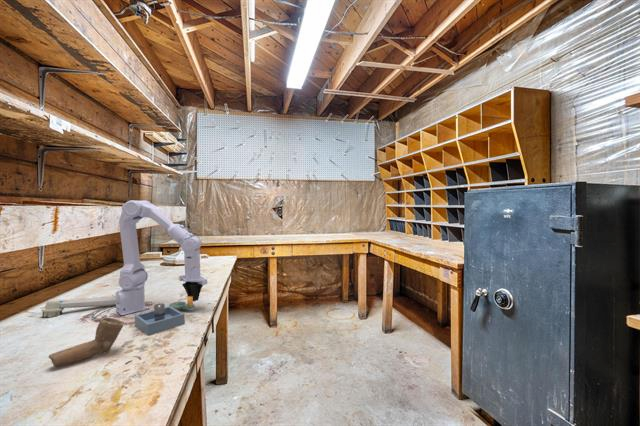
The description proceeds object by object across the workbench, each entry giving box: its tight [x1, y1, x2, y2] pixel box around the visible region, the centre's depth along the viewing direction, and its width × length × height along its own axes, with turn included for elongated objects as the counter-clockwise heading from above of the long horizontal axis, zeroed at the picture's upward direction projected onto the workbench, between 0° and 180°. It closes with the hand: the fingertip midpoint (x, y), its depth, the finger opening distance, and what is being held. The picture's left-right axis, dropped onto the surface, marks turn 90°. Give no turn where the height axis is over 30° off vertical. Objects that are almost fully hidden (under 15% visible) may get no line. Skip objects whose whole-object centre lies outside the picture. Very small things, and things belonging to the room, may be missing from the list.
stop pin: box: [153, 303, 166, 322], centre depth 104 cm, size 3×3×6 cm
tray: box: [134, 305, 186, 336], centre depth 104 cm, size 12×12×4 cm
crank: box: [168, 295, 195, 311], centre depth 117 cm, size 10×6×5 cm, turn 75°
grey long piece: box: [41, 294, 116, 318], centre depth 118 cm, size 5×7×25 cm
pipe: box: [48, 317, 125, 367], centre depth 82 cm, size 6×17×10 cm, turn 134°
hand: (193, 300), depth 118 cm, fingers closed
